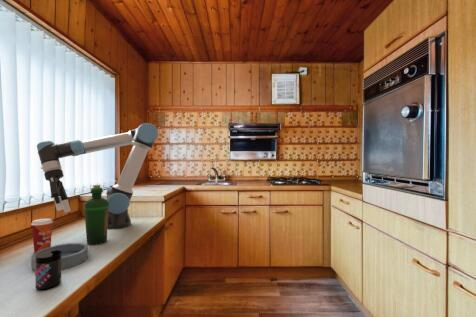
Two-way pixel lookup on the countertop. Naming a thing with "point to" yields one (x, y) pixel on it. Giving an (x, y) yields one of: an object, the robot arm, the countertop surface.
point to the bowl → (67, 254)
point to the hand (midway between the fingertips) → (64, 211)
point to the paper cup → (42, 233)
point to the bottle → (96, 217)
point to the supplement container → (47, 270)
